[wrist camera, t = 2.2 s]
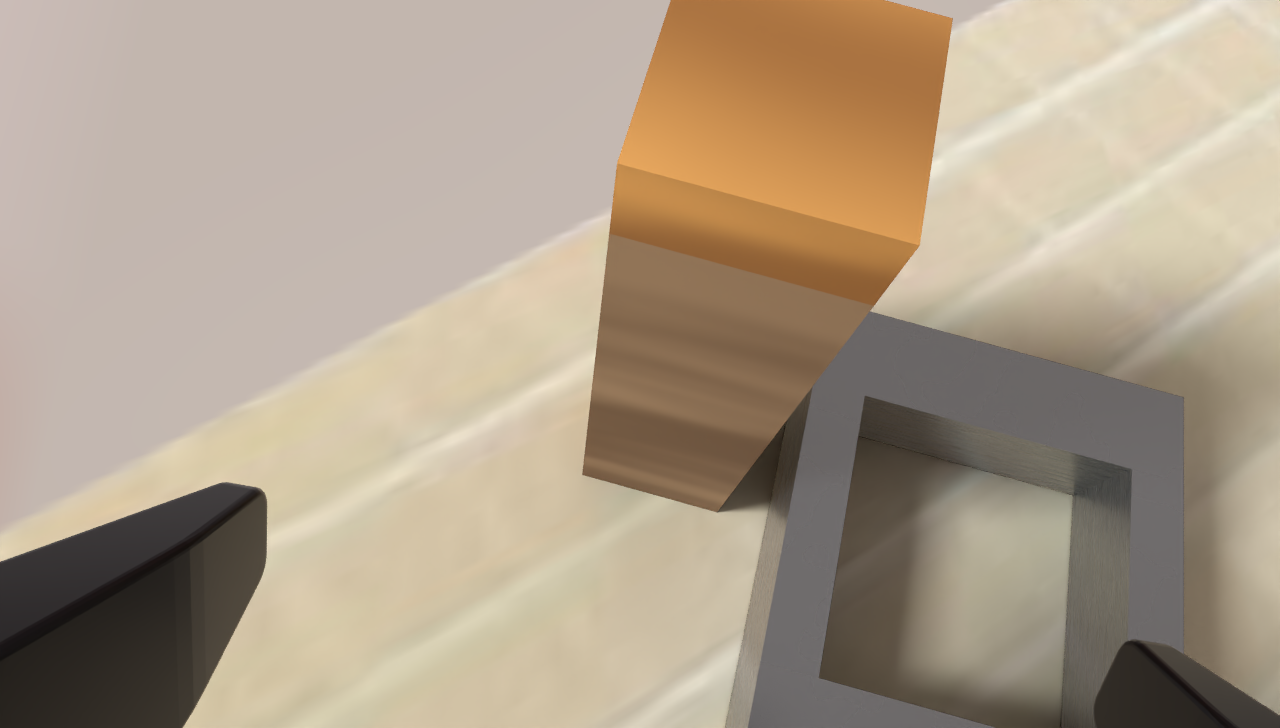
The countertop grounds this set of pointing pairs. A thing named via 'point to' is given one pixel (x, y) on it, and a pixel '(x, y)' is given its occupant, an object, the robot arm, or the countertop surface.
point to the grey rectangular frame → (983, 439)
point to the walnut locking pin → (754, 226)
